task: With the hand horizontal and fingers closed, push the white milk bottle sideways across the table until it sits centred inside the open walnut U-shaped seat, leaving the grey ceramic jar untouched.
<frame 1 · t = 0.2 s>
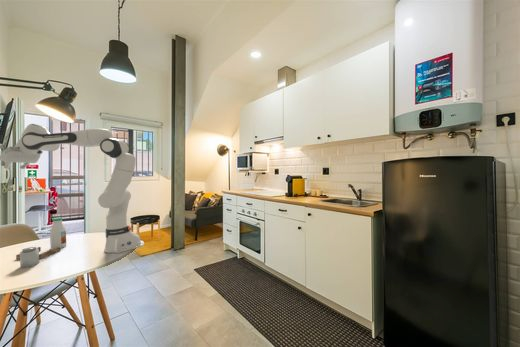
hand: (14, 168, 129), 54 cm above the table, tool tilted 25°, fingers open, 8 cm apart
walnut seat: (39, 254, 131), on the table
milk bottle: (58, 247, 143), on the table
grey jar: (30, 265, 117), on the table
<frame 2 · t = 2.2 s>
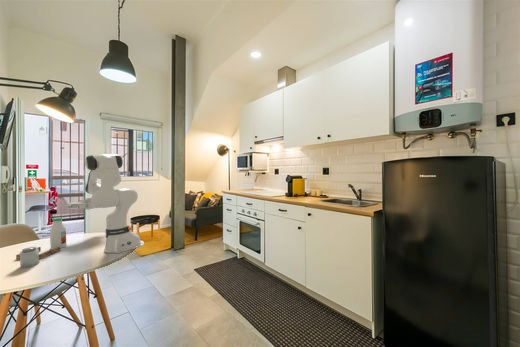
hand: (73, 207, 154), 25 cm above the table, tool horizontal, fingers open, 7 cm apart
nothing on the table moved.
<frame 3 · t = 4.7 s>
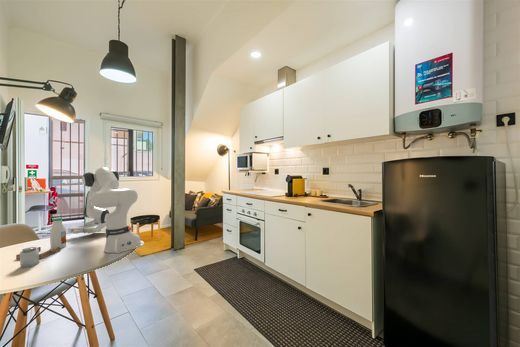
hand: (74, 232, 155), 6 cm above the table, tool horizontal, fingers closed
nothing on the table moved.
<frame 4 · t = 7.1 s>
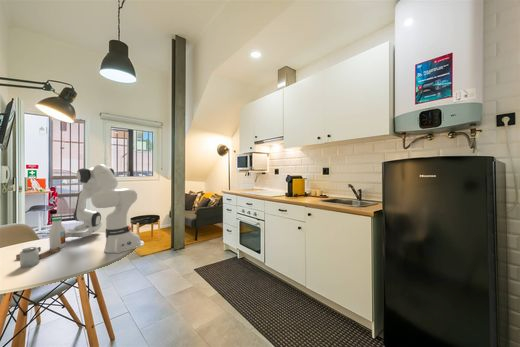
hand: (63, 237, 146), 6 cm above the table, tool horizontal, fingers closed
milk bottle: (57, 247, 142), on the table, touching gripper
everything else where it was.
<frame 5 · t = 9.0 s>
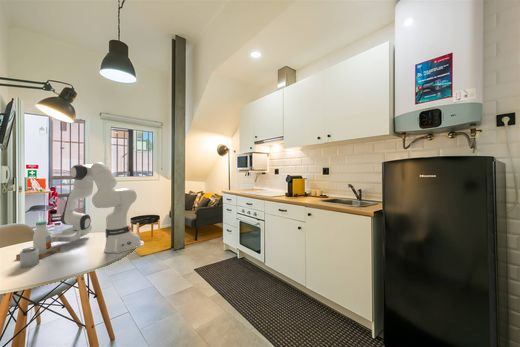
hand: (48, 241, 136), 6 cm above the table, tool horizontal, fingers closed, pressing on milk bottle
milk bottle: (42, 253, 133), on the table, touching gripper
everything else where it was.
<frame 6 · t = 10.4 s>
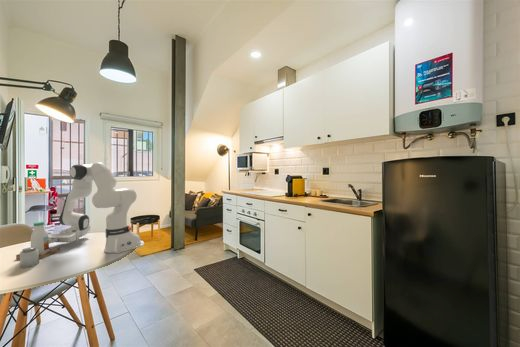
hand: (46, 242, 135), 6 cm above the table, tool horizontal, fingers closed
milk bottle: (40, 254, 131), on the table
everything else where it was.
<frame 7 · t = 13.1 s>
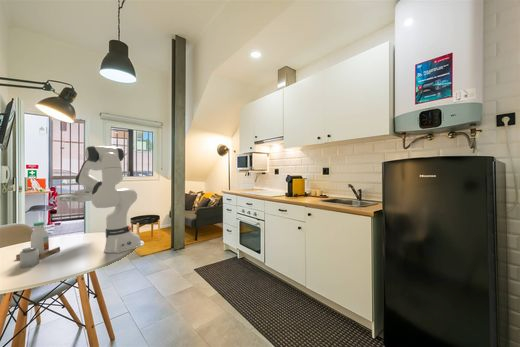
hand: (63, 200, 146), 31 cm above the table, tool horizontal, fingers closed
nothing on the table moved.
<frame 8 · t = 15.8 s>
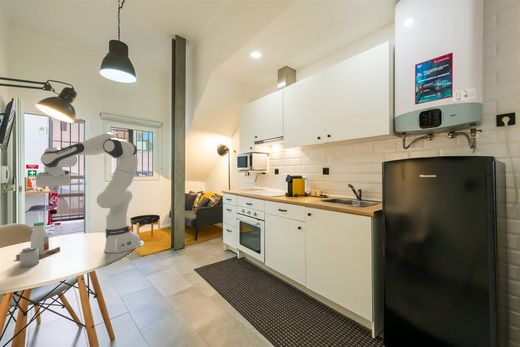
hand: (54, 192, 142), 37 cm above the table, tool pointing down, fingers closed
nothing on the table moved.
at the end: milk bottle 0.6 cm from the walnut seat (horizontally); milk bottle tilted 0°; milk bottle moved 11.4 cm from its start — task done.
